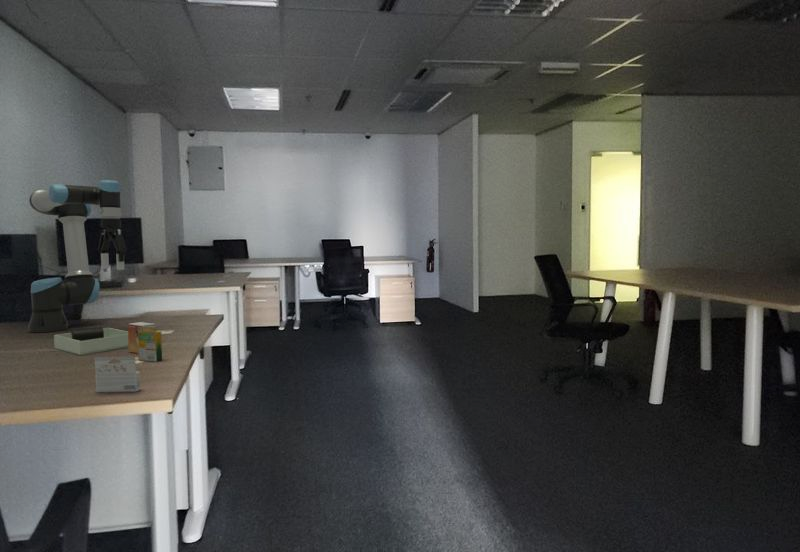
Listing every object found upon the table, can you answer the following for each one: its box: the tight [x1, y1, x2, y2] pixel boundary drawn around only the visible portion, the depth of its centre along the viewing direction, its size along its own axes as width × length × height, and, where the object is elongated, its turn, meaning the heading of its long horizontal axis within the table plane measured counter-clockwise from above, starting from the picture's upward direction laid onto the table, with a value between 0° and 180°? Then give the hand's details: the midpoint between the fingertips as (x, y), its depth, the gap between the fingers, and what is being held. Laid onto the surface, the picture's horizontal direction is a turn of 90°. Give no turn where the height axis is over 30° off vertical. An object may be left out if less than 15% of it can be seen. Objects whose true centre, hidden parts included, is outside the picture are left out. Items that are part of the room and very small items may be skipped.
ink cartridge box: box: [93, 355, 141, 393], centre depth 141 cm, size 2×11×10 cm, turn 92°
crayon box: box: [138, 326, 163, 362], centre depth 177 cm, size 7×3×12 cm, turn 74°
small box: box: [127, 321, 156, 355], centre depth 190 cm, size 8×6×10 cm
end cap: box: [70, 326, 104, 341], centre depth 196 cm, size 10×7×7 cm
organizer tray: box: [53, 327, 129, 356], centre depth 199 cm, size 22×20×5 cm
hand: (112, 269), depth 218 cm, fingers open, 13 cm apart
